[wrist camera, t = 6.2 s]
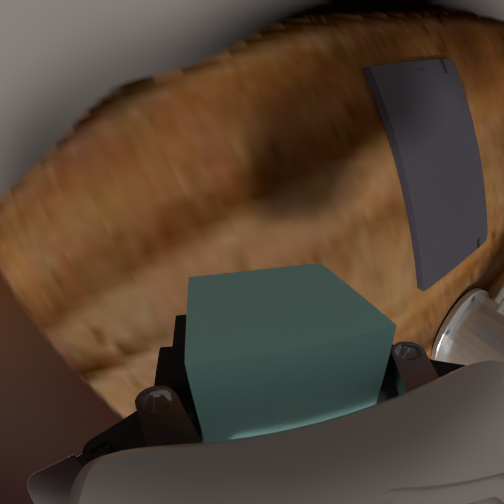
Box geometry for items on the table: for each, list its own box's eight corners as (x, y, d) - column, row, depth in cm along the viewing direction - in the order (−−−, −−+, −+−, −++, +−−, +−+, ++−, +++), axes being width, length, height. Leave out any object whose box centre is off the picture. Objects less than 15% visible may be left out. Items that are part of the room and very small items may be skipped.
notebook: (358, 70, 18) (414, 286, 26) (369, 65, 17) (424, 292, 25) (442, 60, 19) (478, 236, 27) (452, 58, 18) (487, 239, 25)
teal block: (320, 263, 12) (396, 325, 7) (314, 364, 14) (361, 442, 8) (189, 277, 11) (184, 362, 6) (206, 381, 13) (215, 475, 8)
